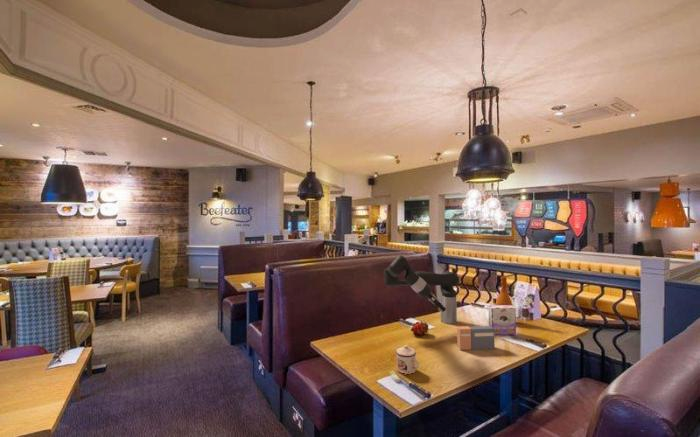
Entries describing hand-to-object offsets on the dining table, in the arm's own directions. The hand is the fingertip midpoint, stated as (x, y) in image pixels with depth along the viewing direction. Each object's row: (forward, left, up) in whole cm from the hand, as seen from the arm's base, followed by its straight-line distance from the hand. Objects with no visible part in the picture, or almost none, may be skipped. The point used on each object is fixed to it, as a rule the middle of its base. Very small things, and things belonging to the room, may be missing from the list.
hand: (442, 307), depth 172 cm
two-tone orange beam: (+8, +8, -22) cm, 25 cm away
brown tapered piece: (+12, +63, -22) cm, 68 cm away
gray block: (+15, +14, -22) cm, 31 cm away
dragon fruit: (-20, +10, -23) cm, 32 cm away
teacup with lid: (-2, -32, -22) cm, 39 cm away
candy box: (+17, +42, -23) cm, 51 cm away
